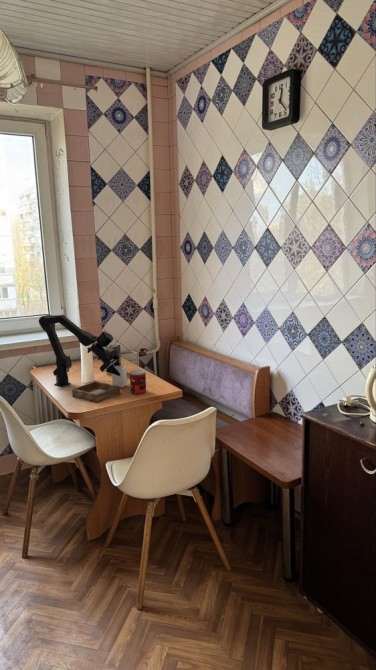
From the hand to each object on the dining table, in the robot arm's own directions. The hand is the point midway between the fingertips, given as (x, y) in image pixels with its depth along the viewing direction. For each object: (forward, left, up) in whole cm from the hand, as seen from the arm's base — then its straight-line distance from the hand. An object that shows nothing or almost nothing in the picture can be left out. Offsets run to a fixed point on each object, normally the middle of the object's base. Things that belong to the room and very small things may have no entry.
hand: (121, 373), depth 252 cm
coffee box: (-23, +17, -7) cm, 30 cm away
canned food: (+14, -3, -7) cm, 16 cm away
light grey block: (-1, -1, -7) cm, 7 cm away
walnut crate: (-1, -18, -7) cm, 19 cm away
